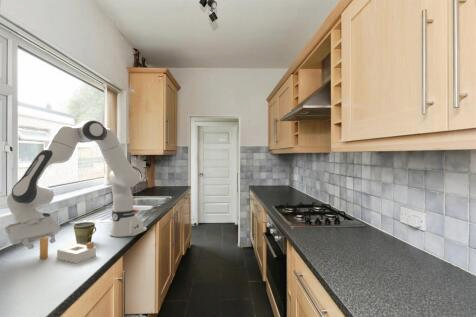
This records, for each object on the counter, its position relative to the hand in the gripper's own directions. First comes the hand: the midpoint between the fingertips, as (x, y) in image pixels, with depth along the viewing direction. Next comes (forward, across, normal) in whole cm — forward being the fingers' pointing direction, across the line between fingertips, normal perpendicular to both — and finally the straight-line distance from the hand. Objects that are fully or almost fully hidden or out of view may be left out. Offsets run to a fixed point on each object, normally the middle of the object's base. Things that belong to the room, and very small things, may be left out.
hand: (43, 245), depth 124 cm
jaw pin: (+4, 0, +4) cm, 6 cm away
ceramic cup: (+3, +23, +5) cm, 24 cm away
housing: (+13, +7, -5) cm, 16 cm away
